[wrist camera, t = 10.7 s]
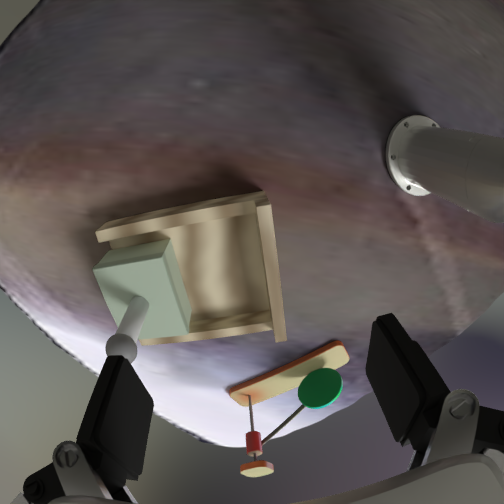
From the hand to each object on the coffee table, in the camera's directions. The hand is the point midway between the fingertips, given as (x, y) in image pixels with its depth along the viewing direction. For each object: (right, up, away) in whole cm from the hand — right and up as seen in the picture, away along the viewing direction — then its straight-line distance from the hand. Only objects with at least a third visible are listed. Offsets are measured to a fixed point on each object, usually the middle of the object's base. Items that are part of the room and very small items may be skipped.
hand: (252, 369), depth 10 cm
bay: (-8, +2, +32) cm, 33 cm away
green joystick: (-15, 0, +31) cm, 34 cm away
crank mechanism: (+7, -20, +43) cm, 49 cm away
